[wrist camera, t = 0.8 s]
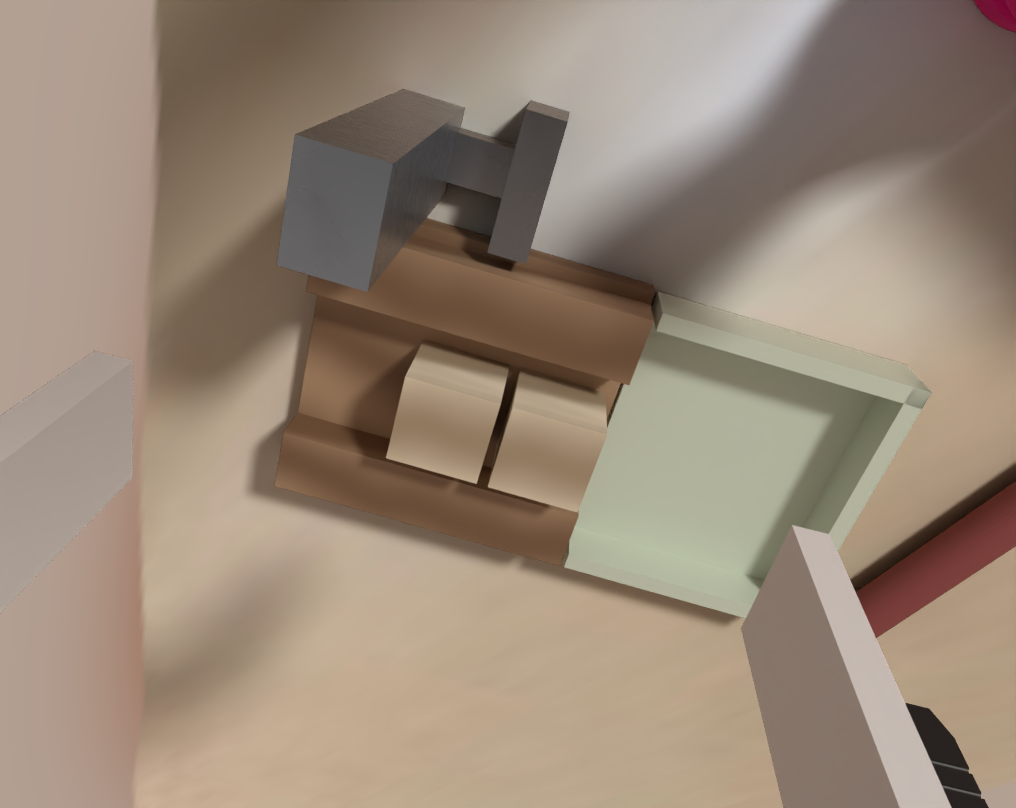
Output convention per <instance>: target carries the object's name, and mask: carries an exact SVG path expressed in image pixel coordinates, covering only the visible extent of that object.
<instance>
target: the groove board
mask: <svg viewBox="0 0 1016 808" xmlns="http://www.w3.org/2000/svg"><path fill="white" fill-rule="evenodd" d="M490 240H491V237H489V236H485V235H482V234H479V233H475V232H472V231H468V230H465V229H462V228H458V227H455V226H452V225H448V224H445V223H441V222H438V221H435V220H431V219H428V218H426V219H425V220H424V221H423V223H422V224H421V225H420V226H419V228H418V229H417V230H416V232H415V233H414V234H413V235H412V237H411V238H410V239H409V240H408V242H407V243H406V244H405V245H404V247H403V248H402V249H401V250H400V252H399V253H398V254H397V255H396V257H395V258H394V259H393V261H392V262H391V263H390V264H389V266H388V267H387V268H386V269H385V271H384V272H383V273H382V274H381V276H380V277H379V278H378V279H377V281H376V282H375V283H374V284H373V286H372V287H371V288H370V290H369V291H368V292H366V291H363V290H359V289H356V288H352V287H349V286H345V285H342V284H339V283H335V282H332V281H328V280H325V279H321V278H318V277H315V276H311V275H309V276H308V282H307V289H306V292H310V293H313V294H317V295H318V296H317V302H316V308H315V314H314V320H313V326H312V332H311V338H310V344H309V350H308V356H307V362H306V368H305V374H304V380H303V386H302V392H301V397H300V403H299V409H298V413H297V415H296V416H295V417H294V419H293V420H292V422H291V423H290V424H289V426H288V427H287V428H286V430H285V431H284V433H283V438H282V444H281V450H280V457H279V463H278V469H277V475H276V482H275V486H277V487H280V488H284V489H287V490H291V491H294V492H298V493H302V494H305V495H309V496H312V497H316V498H319V499H323V500H326V501H330V502H334V503H337V504H341V505H344V506H348V507H351V508H355V509H358V510H362V511H366V512H369V513H373V514H376V515H380V516H383V517H387V518H390V519H394V520H398V521H401V522H405V523H408V524H412V525H415V526H419V527H422V528H426V529H430V530H433V531H437V532H440V533H444V534H447V535H451V536H454V537H458V538H462V539H465V540H469V541H472V542H476V543H479V544H483V545H486V546H490V547H494V548H497V549H501V550H504V551H508V552H511V553H515V554H518V555H522V556H526V557H529V558H533V559H536V560H540V561H543V562H547V563H550V564H554V565H558V566H560V563H561V561H562V558H563V556H564V553H565V550H566V548H567V545H568V543H569V540H570V538H571V535H572V532H573V530H574V527H575V525H576V522H577V519H578V517H579V510H578V512H574V511H570V510H567V509H563V508H559V507H556V506H552V505H549V504H545V503H542V502H538V501H535V500H531V499H528V498H524V497H521V496H517V495H514V494H510V493H507V492H503V491H500V490H496V489H493V488H489V487H488V484H489V479H490V474H491V470H492V465H493V461H494V456H495V451H496V447H497V442H498V439H499V435H500V432H501V429H502V426H503V423H504V419H505V416H506V413H507V410H508V406H509V403H510V400H511V397H512V394H513V390H514V387H515V384H516V381H517V377H518V374H519V371H520V368H524V369H527V370H531V371H534V372H538V373H541V374H544V375H548V376H551V377H555V378H558V379H562V380H565V381H569V382H572V383H575V384H579V385H582V386H586V387H589V388H593V389H596V390H600V391H603V392H606V414H607V418H608V416H609V413H610V410H611V408H612V405H613V403H614V400H615V397H616V395H617V392H618V389H619V387H620V384H621V383H622V384H626V385H630V382H631V380H632V377H633V374H634V372H635V369H636V367H637V364H638V361H639V359H640V356H641V354H642V351H643V349H644V346H645V343H646V341H647V338H648V336H649V333H650V330H651V328H652V325H653V323H654V319H653V314H652V309H651V303H652V300H653V297H654V295H655V293H654V288H653V285H651V284H647V283H644V282H640V281H637V280H634V279H630V278H627V277H624V276H620V275H617V274H613V273H610V272H607V271H603V270H600V269H597V268H593V267H590V266H586V265H583V264H580V263H576V262H573V261H570V260H566V259H563V258H559V257H556V256H553V255H549V254H546V253H543V252H539V251H536V250H532V249H530V252H529V255H528V258H527V262H526V264H524V263H520V262H517V261H514V260H510V259H507V258H503V257H500V256H497V255H493V254H490V253H487V252H488V248H489V244H490ZM423 340H427V341H431V342H434V343H438V344H441V345H445V346H448V347H452V348H455V349H458V350H462V351H465V352H469V353H472V354H476V355H479V356H483V357H486V358H489V359H493V360H496V361H500V362H503V363H507V364H510V366H509V370H508V375H507V379H506V384H505V388H504V392H503V397H502V401H501V405H500V408H499V412H498V415H497V418H496V421H495V425H494V428H493V431H492V435H491V438H490V441H489V444H488V448H487V451H486V454H485V458H484V461H483V464H482V467H481V471H480V474H479V477H478V481H477V484H475V483H471V482H468V481H464V480H461V479H457V478H454V477H450V476H447V475H443V474H440V473H436V472H433V471H429V470H426V469H422V468H419V467H415V466H412V465H408V464H405V463H401V462H398V461H394V460H391V459H387V458H386V456H387V452H388V447H389V443H390V439H391V435H392V430H393V426H394V422H395V418H396V413H397V409H398V405H399V401H400V396H401V392H402V388H403V384H404V379H405V376H406V374H407V372H408V370H409V368H410V366H411V364H412V362H413V360H414V358H415V356H416V354H417V352H418V350H419V348H420V346H421V344H422V342H423Z"/></svg>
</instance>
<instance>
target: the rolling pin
mask: <svg viewBox="0 0 1016 808" xmlns="http://www.w3.org/2000/svg"><path fill="white" fill-rule="evenodd" d="M1015 546H1016V481H1015V482H1013V483H1012V484H1011V485H1009V486H1008V487H1006V488H1005V489H1003V490H1002V491H1000V492H999V493H998V494H996V495H995V496H993V497H992V498H990V499H989V500H988V501H986V502H985V503H983V504H982V505H980V506H979V507H977V508H976V509H975V510H973V511H972V512H970V513H969V514H967V515H966V516H965V517H963V518H962V519H960V520H959V521H957V522H956V523H954V524H953V525H952V526H950V527H949V528H947V529H946V530H944V531H943V532H942V533H940V534H939V535H937V536H936V537H934V538H933V539H931V540H930V541H929V542H927V543H926V544H924V545H923V546H921V547H920V548H919V549H917V550H916V551H914V552H913V553H911V554H910V555H908V556H907V557H906V558H904V559H903V560H901V561H900V562H898V563H897V564H896V565H894V566H893V567H891V568H890V569H888V570H887V571H885V572H884V573H883V574H881V575H880V576H878V577H877V578H875V579H874V580H873V581H871V582H870V583H868V584H867V585H865V586H864V587H862V588H861V589H860V590H858V591H857V592H856V594H857V597H858V599H859V601H860V603H861V606H862V608H863V610H864V612H865V615H866V617H867V619H868V621H869V624H870V626H871V628H872V630H873V633H874V635H875V637H876V638H877V637H879V636H880V635H882V634H883V633H885V632H886V631H888V630H889V629H891V628H892V627H894V626H895V625H897V624H898V623H900V622H901V621H903V620H905V619H906V618H908V617H909V616H911V615H912V614H914V613H915V612H917V611H918V610H920V609H921V608H923V607H924V606H926V605H927V604H929V603H930V602H932V601H933V600H935V599H936V598H938V597H939V596H941V595H942V594H944V593H945V592H947V591H949V590H950V589H952V588H953V587H955V586H956V585H958V584H959V583H961V582H962V581H964V580H965V579H967V578H968V577H970V576H971V575H973V574H974V573H976V572H977V571H979V570H980V569H982V568H983V567H985V566H986V565H988V564H990V563H991V562H993V561H994V560H996V559H997V558H999V557H1000V556H1002V555H1003V554H1005V553H1006V552H1008V551H1009V550H1011V549H1012V548H1014V547H1015Z"/></svg>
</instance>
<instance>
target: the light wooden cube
mask: <svg viewBox="0 0 1016 808" xmlns="http://www.w3.org/2000/svg"><path fill="white" fill-rule="evenodd" d="M606 437H607V414H606V392H603V391H600V390H596V389H593V388H589V387H586V386H582V385H579V384H575V383H572V382H569V381H565V380H562V379H558V378H555V377H551V376H548V375H544V374H541V373H538V372H534V371H531V370H527V369H524V368H520V371H519V374H518V377H517V381H516V384H515V387H514V390H513V394H512V397H511V400H510V403H509V406H508V410H507V413H506V416H505V419H504V423H503V426H502V429H501V432H500V435H499V439H498V442H497V447H496V451H495V456H494V461H493V465H492V470H491V474H490V479H489V484H488V487H489V488H493V489H496V490H500V491H503V492H507V493H510V494H514V495H517V496H521V497H524V498H528V499H531V500H535V501H538V502H542V503H545V504H549V505H552V506H556V507H559V508H563V509H567V510H570V511H574V512H578V510H579V507H580V505H581V502H582V499H583V497H584V494H585V492H586V489H587V486H588V484H589V481H590V479H591V476H592V473H593V471H594V468H595V465H596V463H597V460H598V458H599V455H600V452H601V450H602V447H603V445H604V442H605V439H606Z"/></svg>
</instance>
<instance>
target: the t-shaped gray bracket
mask: <svg viewBox="0 0 1016 808" xmlns="http://www.w3.org/2000/svg"><path fill="white" fill-rule="evenodd" d="M464 110H465V108H464V107H460V106H457V105H454V104H450V103H447V102H444V101H441V100H437V99H434V98H431V97H427V96H424V95H421V94H417V93H414V92H411V91H407V90H404V89H402V90H400V91H397V92H395V93H393V94H390V95H388V96H385V97H383V98H381V99H378V100H376V101H374V102H371V103H369V104H366V105H364V106H362V107H359V108H357V109H354V110H352V111H350V112H347V113H345V114H343V115H340V116H338V117H335V118H333V119H331V120H328V121H326V122H323V123H321V124H319V125H316V126H314V127H312V128H309V129H307V130H304V131H302V132H300V133H297V134H295V138H294V145H293V152H292V160H291V167H290V174H289V181H288V188H287V195H286V202H285V210H284V217H283V224H282V231H281V238H280V245H279V253H278V260H277V266H280V267H284V268H287V269H291V270H294V271H297V272H301V273H304V274H308V275H311V276H315V277H318V278H321V279H325V280H328V281H332V282H335V283H339V284H342V285H345V286H349V287H352V288H356V289H359V290H363V291H366V292H368V291H369V290H370V288H371V287H372V286H373V284H374V283H375V282H376V281H377V279H378V278H379V277H380V276H381V274H382V273H383V272H384V271H385V269H386V268H387V267H388V266H389V264H390V263H391V262H392V261H393V259H394V258H395V257H396V255H397V254H398V253H399V252H400V250H401V249H402V248H403V247H404V245H405V244H406V243H407V242H408V240H409V239H410V238H411V237H412V235H413V234H414V233H415V232H416V230H417V229H418V228H419V226H420V225H421V224H422V223H423V221H424V220H425V219H426V218H427V216H428V215H429V214H430V213H431V211H432V210H433V209H434V208H435V206H436V205H437V204H438V203H439V201H440V200H441V199H442V197H443V196H444V195H445V192H446V187H447V183H451V184H454V185H458V186H461V187H464V188H468V189H471V190H474V191H478V192H481V193H484V194H488V195H491V196H495V197H498V198H501V203H500V207H499V211H498V214H497V218H496V222H495V225H494V229H493V233H492V237H491V240H490V244H489V248H488V252H487V253H490V254H493V255H497V256H500V257H503V258H507V259H510V260H514V261H517V262H520V263H524V264H526V262H527V258H528V255H529V252H530V248H531V245H532V241H533V238H534V234H535V231H536V228H537V224H538V221H539V217H540V214H541V211H542V207H543V204H544V200H545V197H546V194H547V190H548V187H549V183H550V180H551V177H552V173H553V170H554V166H555V163H556V160H557V156H558V153H559V149H560V146H561V142H562V139H563V136H564V132H565V129H566V125H567V122H568V117H569V113H570V112H567V111H564V110H561V109H557V108H554V107H551V106H548V105H544V104H541V103H538V102H534V101H531V102H530V103H529V105H528V106H527V108H526V110H525V113H524V117H523V121H522V125H521V128H520V132H519V136H518V140H517V143H516V145H515V144H512V143H509V142H505V141H502V140H499V139H495V138H492V137H489V136H486V135H482V134H479V133H476V132H472V131H469V130H466V129H462V128H460V127H461V123H462V119H463V115H464Z"/></svg>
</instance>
